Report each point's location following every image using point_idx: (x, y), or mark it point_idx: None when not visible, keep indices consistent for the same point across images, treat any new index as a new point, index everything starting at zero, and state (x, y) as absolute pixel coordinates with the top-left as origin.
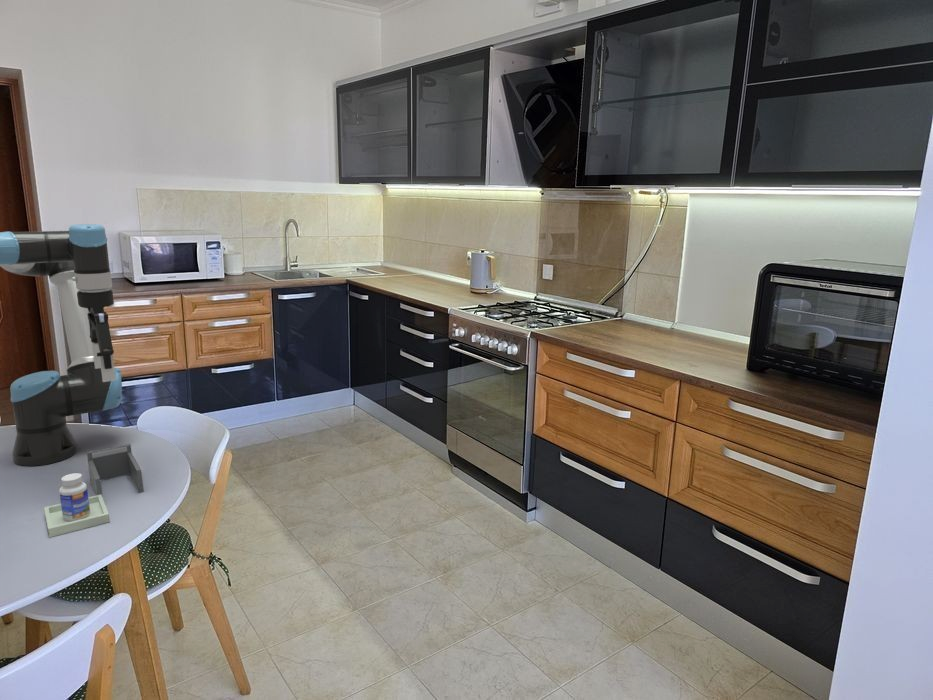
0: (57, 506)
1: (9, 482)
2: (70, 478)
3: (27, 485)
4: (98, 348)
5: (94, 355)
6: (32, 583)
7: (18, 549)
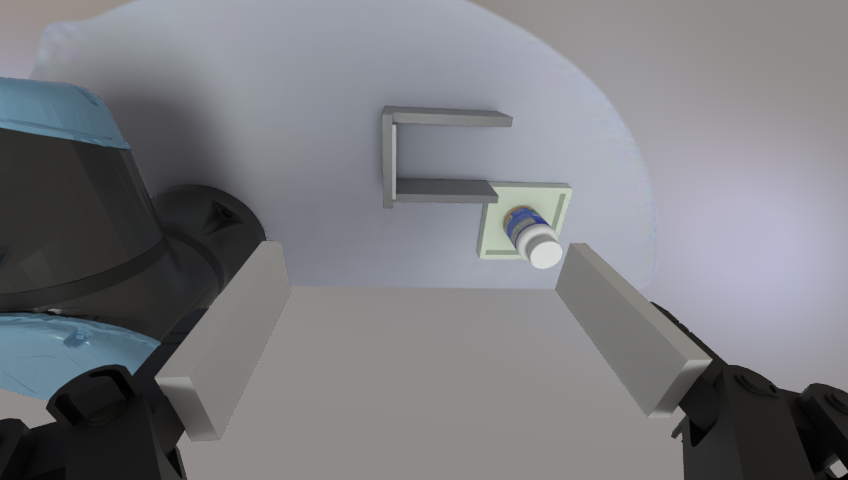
0: (486, 244)
1: (322, 284)
2: (553, 257)
3: (348, 265)
4: (231, 370)
5: (261, 349)
6: (636, 272)
7: (548, 280)
